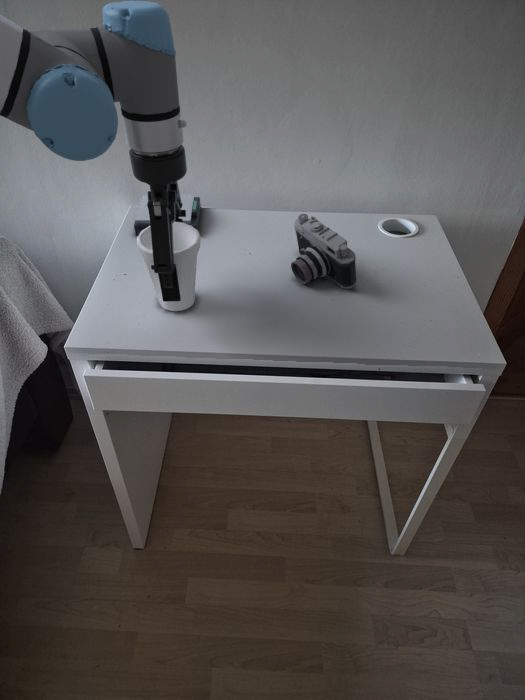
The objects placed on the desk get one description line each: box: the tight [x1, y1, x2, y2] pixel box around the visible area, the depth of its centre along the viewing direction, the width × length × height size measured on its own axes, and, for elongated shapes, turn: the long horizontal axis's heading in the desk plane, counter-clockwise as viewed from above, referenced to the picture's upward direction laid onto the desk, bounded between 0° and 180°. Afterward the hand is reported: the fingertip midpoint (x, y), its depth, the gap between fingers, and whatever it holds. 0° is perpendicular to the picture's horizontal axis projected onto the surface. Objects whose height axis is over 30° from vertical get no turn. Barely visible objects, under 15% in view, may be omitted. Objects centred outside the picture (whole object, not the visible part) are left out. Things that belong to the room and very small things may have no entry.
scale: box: [133, 194, 202, 237], centre depth 98 cm, size 13×13×4 cm
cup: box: [136, 222, 202, 312], centre depth 75 cm, size 10×10×13 cm
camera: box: [290, 213, 357, 289], centre depth 83 cm, size 16×9×10 cm, turn 34°
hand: (175, 274), depth 76 cm, fingers open, 13 cm apart
